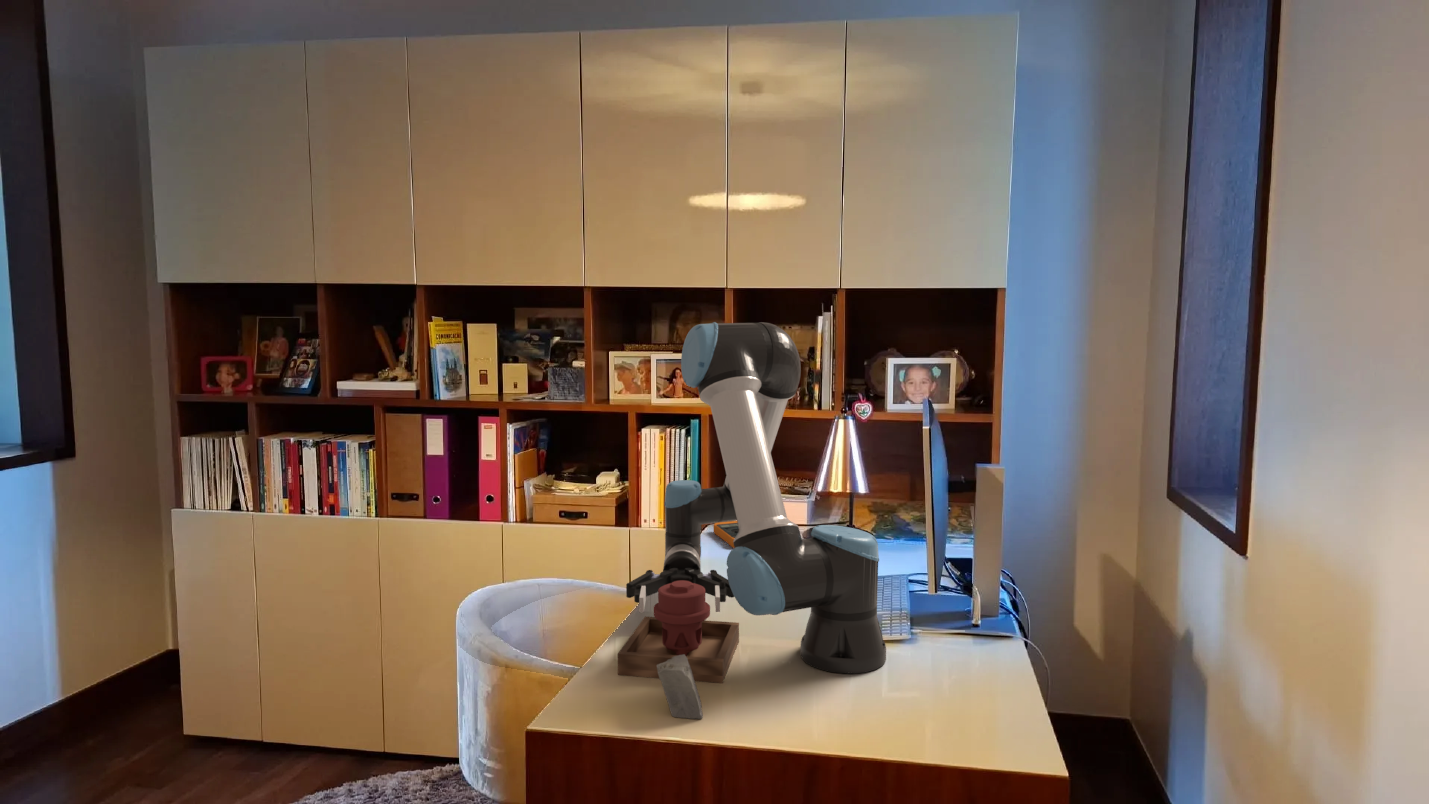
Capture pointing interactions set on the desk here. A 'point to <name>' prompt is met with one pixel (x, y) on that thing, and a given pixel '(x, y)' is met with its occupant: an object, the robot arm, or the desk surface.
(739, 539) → the robot arm
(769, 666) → the desk surface
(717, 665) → the walnut tray
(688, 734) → the desk surface
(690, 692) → the mineral specimen
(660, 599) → the mechanical component
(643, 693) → the desk surface
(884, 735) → the desk surface
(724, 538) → the multimeter
